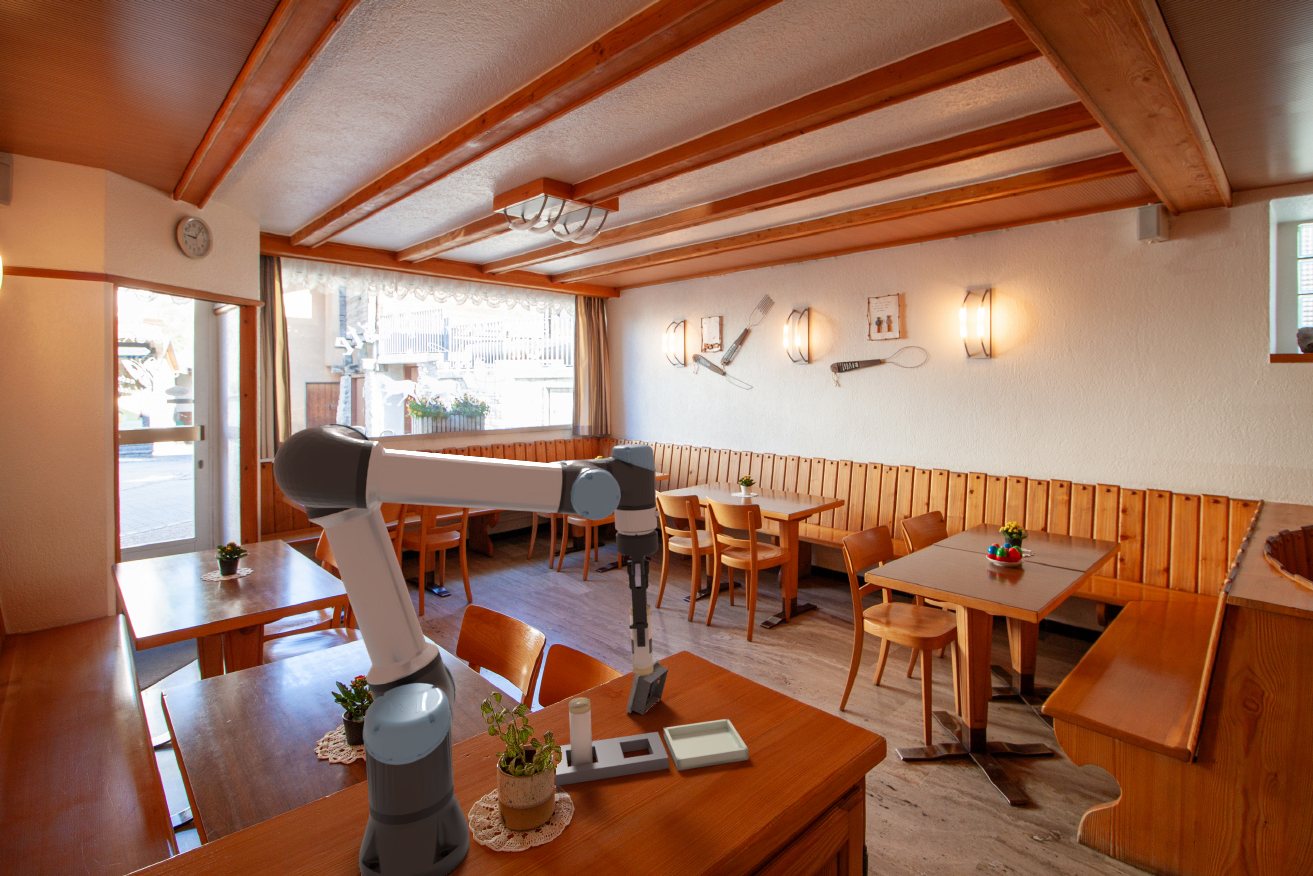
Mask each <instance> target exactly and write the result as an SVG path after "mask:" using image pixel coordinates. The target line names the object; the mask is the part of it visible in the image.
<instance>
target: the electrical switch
mask: <svg viewBox="0 0 1313 876" xmlns="http://www.w3.org/2000/svg"><path fill="white" fill-rule="evenodd" d="M668 672H669V668H667V667H665V666H663V665H662V664H661V663H660V659H658V658H656V657H655V658H653V672H652V673H651V674H649V675H643V676H640V675H635V674H634V676H633V680H632V684H631V689H630V693H629V697H628V700H627V705H626V712H627V713H629V714H631V713H632V712H634V713H637V714H639V715H641V716H644V715H645V714H646V713H647V712H648V711H647V710H649V708H651V706H652V705H654V703H656V702H658V700H660V701H661V700H662V695H663V693H664V688H665V684H666V679H667V676H668ZM658 703H659V702H658ZM656 704H657V703H656ZM654 706H655V705H654ZM651 709H652V708H651ZM646 711H647V712H646ZM649 711H650V710H649ZM645 712H646V713H645ZM644 713H645V714H644Z"/></svg>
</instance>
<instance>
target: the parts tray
mask: <svg viewBox="0 0 1313 876" xmlns="http://www.w3.org/2000/svg"><path fill="white" fill-rule="evenodd" d="M663 738H664V742H665V743H666V747H667V748H668V751H669V753H670V756H671V757H672V761H673V762H674V765H675V767H676V770H677V771H679V772H680V771H684V770H691V769H696V768H703V767H709V766H715V765H721V764H728V763H735V762H741V761H749V747H748V746H747V745H746V743H745V742H744V740H743V739H742V737H741V736H740V734H739V732H738V731H737V730H736V728H735V727H734V725H733V723H732V721H731V719H729V718H725V719H724V718H723V719H716V720H709V721H703V722H702V721H701V722H697V723H695V722H694V723H689V724H681V725H675V726H670V727H669V726H667V727H663Z"/></svg>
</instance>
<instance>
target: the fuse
mask: <svg viewBox="0 0 1313 876" xmlns="http://www.w3.org/2000/svg"><path fill="white" fill-rule="evenodd" d="M568 713H569V714H568V715H569V716H568V718H569V741H570V743H569V744H571V760H570V763H571V765H570V767H571V766H577V765H584V764H591V763H594V762H593V757H592V738H593V737H592V716H591V715H592V712H591V699H589V698H587V697H576V698H573V699H571V700H569V701H568Z"/></svg>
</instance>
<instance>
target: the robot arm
mask: <svg viewBox="0 0 1313 876" xmlns="http://www.w3.org/2000/svg"><path fill="white" fill-rule="evenodd" d="M272 467H273V476H274V479H275V483H276V484H277V486H278V488H279V490H280V491H281V493H282V494H283V495H285V496H286V497H287V498H288V499H289V500H291V501H292V502H294V503H296V504H298V505H301V506H303V507H304V510H305V513H306V515H307V520H308V521H309V522H311V523H313V524H316V525H318V526H321V527H322V528H323V530H324V533H325V535H326V536H325V537H326V539H327V542H328V544H329V547H330V550H331V553H332V555H333V558H334V561H335V563H336V564H335V565H336V567H337V569H338V573H339V575H340V577H341V581H342V584H343V586H344V589H345V592H346V594H347V598H348V601H349V604H350V606H351V609H352V612H353V615H354V617H355V620H356V623H357V626H358V628H359V631H360V634H361V637H362V639H363V643H364V645H365V648H366V651H367V654H368V656H369V660H370V662H371V667H370V669H369V671H368V672H367V675H366V677H365V680H366V683H367V685H368V689H369V691H370V693H371V694H370V695H371V697H372V700H373V701H372V703H371V704H370V705H369V706H368V708H367V710H366V712H365V715H364V723H363V729H362V740H363V746H364V750H365V752H364V753H365V765H366V766H365V767H366V778H367V779H366V780H367V781H366V782H367V795H368V810H369V813H368V814H369V815H368V820H367V823H366V826H365V830H364V833H363V838H362V841H361V845H360V849H359V852H358V868H360V870H359V873H360V872H361V874H362V876H445V875H446V874H448V873H449V874H450V873H452V872H453V871H454V870H455V869H456V868H457V867H458V866H459V865H460V863H462V862H463V860H464V859H465V856H466V855H467V852H468V850H469V846H470V835H469V833H470V832H469V824H468V821H467V818H466V817H465V814H464V812H463V810H462V808H461V807H462V806H461V805H460V803H459V800H458V799H457V796H456V794H455V788H454V787H455V786H454V785H455V784H454V766H453V765H454V763H453V749H452V748H453V745H452V741H453V740H452V738H453V737H452V736H453V735H452V734H453V722H454V721H453V719H454V709H455V708H454V706H455V703H456V702H455V701H456V695H457V694H456V682H455V678H454V677H453V674H452V672H451V670H450V669H449V667H448V666H447V664H445V663H444V661H443V658H442V655H441V653H440V649H439V647H438V646H437V645H436V644H433V643H430V642H428V641H426V639H425V636H424V633H423V630H422V627H421V625H420V622H419V618H418V615H417V612H416V610H415V606H414V604H413V602H412V601H413V600H412V598H411V595H410V591H409V589H408V586H407V584H406V583H407V582H406V579H405V578H404V575H403V572H402V571H403V570H402V568H401V565H400V564H399V560H398V557H397V555H396V551H395V548H394V546H393V543H392V539H391V537H390V534H389V531H388V528H387V525H386V522H385V519H384V517H383V513H382V510H381V506H382V505H383V503H384V504H385V503H387V504H404V505H418V506H419V505H420V506H422V505H423V506H438V507H454V508H471V509H472V508H473V509H486V510H488V509H489V510H501V511H502V510H504V511H506V510H507V511H518V512H519V511H520V512H522V511H523V512H536V513H537V512H538V513H552V514H553V513H555V514H563V515H575V516H576V515H577V516H580V517H582V518H584V519H587V520H588V519H589V520H591V521H592V520H593V521H598V520H603V519H606V518H608V517H609V516H610V515H612V514H613V513H614V527H615V530H617V532H616V534H615V540H616V542H615V543H616V545H615V546H616V552H617V553H618V554H619V555H621V556H627V557H630V560H627V564H626V572H627V573H626V574H627V575H628V584H629V585H628V588H629V589H630V591H631V602H632V603H631V605H632V610H633V624H632V625H630V624H629V626H628V627H629V629H630V630H631V629H633V637H634V659H635V663H650V653H649V631H648V623H647V605H646V604H648V598H647V597H648V595H647V590H648V588H649V573H650V560H649V559H647V558H646V556H647V555H654V554H655V553H656V552H658V550H659V535H658V531H657V530H656V528H658V522H657V521H658V517H660V516H661V512H660V510H657V498H656V497H657V495H656V487H657V486H656V463H655V456H654V450H653V447H652V446H650V445H648V444H645V443H644V444H642V443H635V444H634V443H633V444H622V445H620V444H619V445H615V446H613V447H612V449H611V454H610V457H609V456H608V457H604V458H590V459H589V458H588V459H572V460H571V459H570V460H565V459H563V460H561V461H553V462H549V463H547V462H535V461H526V460H525V461H524V460H512V459H504V458H503V459H502V458H489V457H478V456H468V455H465V456H464V455H457V454H456V455H455V454H444V453H443V454H442V453H435V452H434V453H433V452H432V453H431V452H422V451H409V450H399V449H397V450H396V449H390V448H389V449H387V448H385V446H383V445H382V443H380V441H379V440H377V441H376V440H371V439H370V438H369V437H368V436H367V435H366V434H364V432H362V431H360V430H359V429H357V428H355V427H354V426H353V427H352V426H350V425H346V424H341V423H330V424H322V425H319V426H313V427H309V428H305V429H302V430H299V431H297V432H295V433H293V434H292V435H290V436H289V437H288V438H287V439H285V440H284V441H283V443H282V444H280V447H279V448H278V449H277V452H276V453H275V456H274V460H273V466H272ZM452 870H453V871H452ZM451 871H452V872H451ZM449 874H448V875H449ZM446 876H447V875H446Z"/></svg>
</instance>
